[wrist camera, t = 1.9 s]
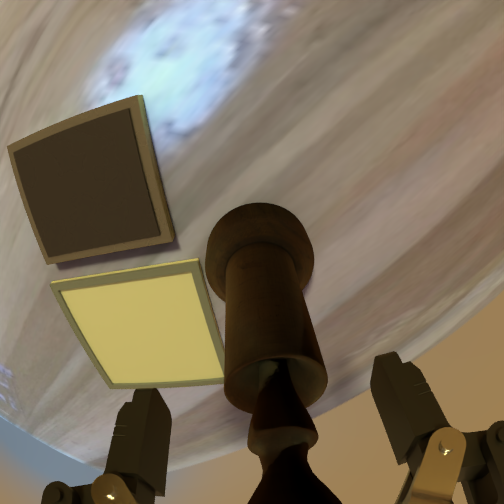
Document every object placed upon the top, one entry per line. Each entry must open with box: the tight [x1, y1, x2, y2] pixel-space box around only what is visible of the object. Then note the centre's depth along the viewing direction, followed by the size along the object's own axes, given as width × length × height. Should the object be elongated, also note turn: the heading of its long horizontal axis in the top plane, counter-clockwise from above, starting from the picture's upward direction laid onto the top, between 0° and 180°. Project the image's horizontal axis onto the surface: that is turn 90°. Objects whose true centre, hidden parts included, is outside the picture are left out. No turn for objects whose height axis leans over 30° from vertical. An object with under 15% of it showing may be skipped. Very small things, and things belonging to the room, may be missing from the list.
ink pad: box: [7, 95, 175, 265], centre depth 17 cm, size 10×9×1 cm
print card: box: [50, 258, 225, 389], centre depth 24 cm, size 12×12×1 cm
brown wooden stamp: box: [205, 203, 342, 504], centre depth 13 cm, size 7×6×18 cm
